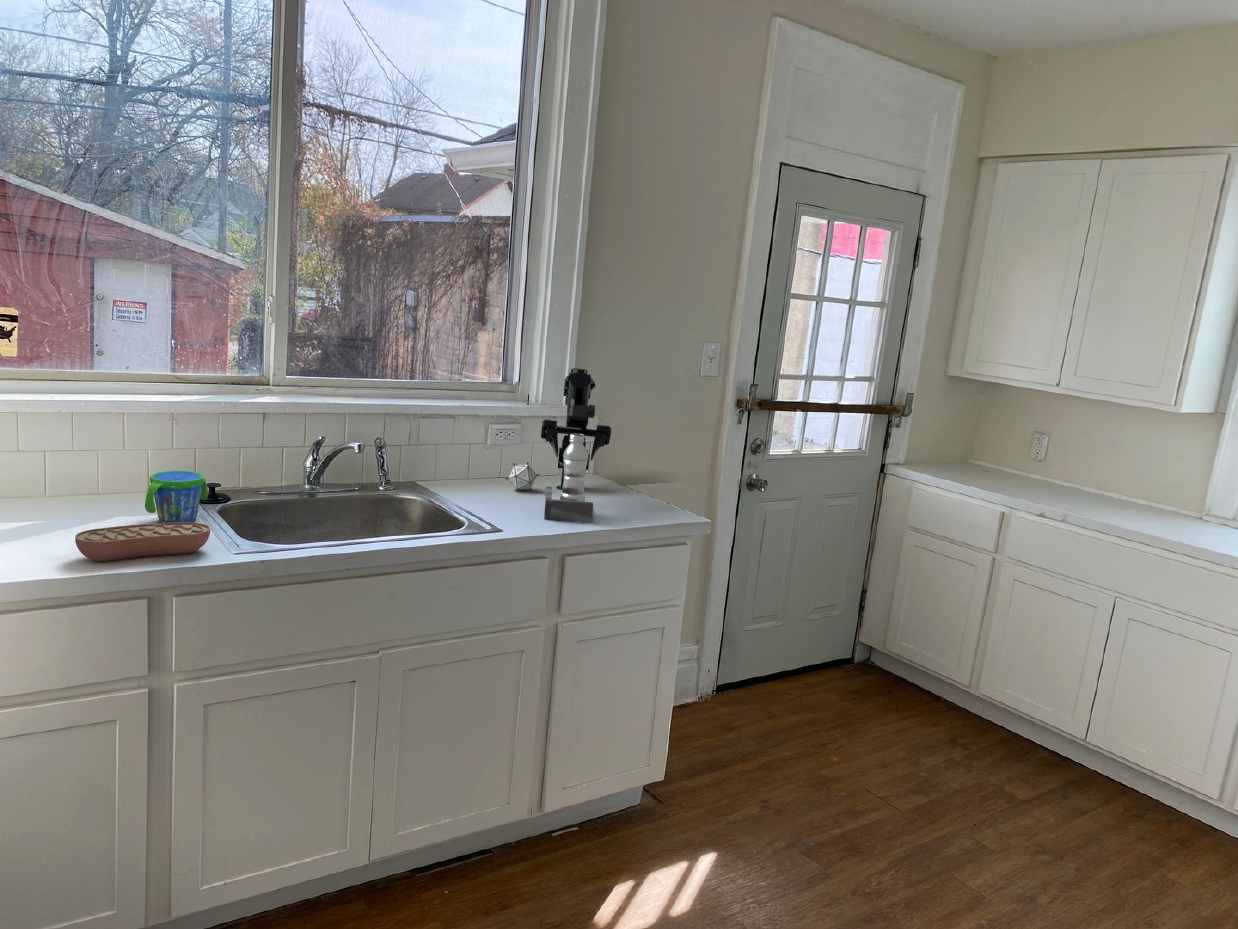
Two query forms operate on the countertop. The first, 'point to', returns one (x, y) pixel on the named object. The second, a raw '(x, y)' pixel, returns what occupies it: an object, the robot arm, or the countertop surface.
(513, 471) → the game die
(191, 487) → the snack cup
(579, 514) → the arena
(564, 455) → the plastic bottle
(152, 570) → the countertop surface
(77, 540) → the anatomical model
